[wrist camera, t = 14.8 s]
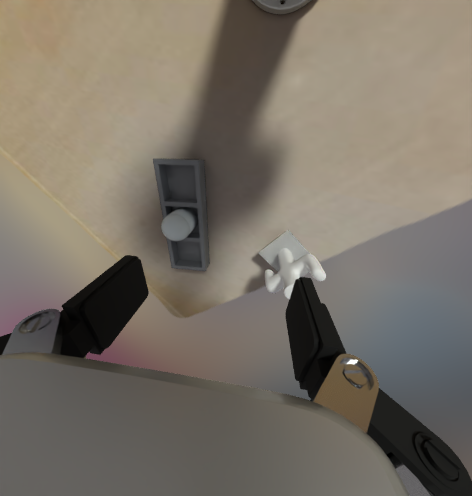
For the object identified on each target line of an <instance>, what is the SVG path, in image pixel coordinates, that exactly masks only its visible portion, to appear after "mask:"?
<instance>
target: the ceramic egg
mask: <svg viewBox="0 0 472 496" xmlns="http://www.w3.org/2000/svg"><path fill="white" fill-rule="evenodd" d="M197 224H198V216H197V214H196V212H195V211H194V210H193V209H191V208H189V207H180V208H178V209H176V210H175V211H173V212H172V213H170V214H169V215H167V216H166V217H165V218H164V219H163V221H162V224H161V229H162V232H163V234H164V235H165V237H167V238H168V239H170V240H172V241H181V240H183V239H185V238H186V237H187V236H188V235H189V234H190V233H191V232H192V231H193V229H194V228H195V227H196V226H197Z"/></svg>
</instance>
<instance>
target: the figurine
mask: <svg viewBox="0 0 472 496" xmlns="http://www.w3.org/2000/svg"><path fill="white" fill-rule="evenodd" d="M259 254H260V255H261V256H262V257H263V258H264V259H265V260H266V261H267V262H268V263H269V264H270V265H271V266H272V267H273V268H274V269H275V270H276V271H277V272H278V273H277V274H274V272H273V271H272V270H269V269H268V270H266V271H265V285H266V288H267V290H268V291H269V292H270V293H276V292H278V291H280V290H281V289H283V288H284V295H285V296H286V298H288V299H290V296H291V293H292V290H293V286H294V283H295V280H296V279H299V278H300V277H303V276H304V275H306V274H307V273H309V272H310V273H311V275H312V276H313V278H314V279H316V280H318V281H324V280H325V278H326V274H325V272H324V270H323V268H322V267H321V265H320V263H319V261H318V260H317V258H316V257H315V256H314V255H312V254H310V253H309V252H308V251H307V250H306V249H305V248H304V246H303V245H302V244H301V243H300V242H299V241H298V240H297V239H296V238H295V236H294V235H293V234H292V233H291V232H290V231H289V230H287V231H286V232H284V233H283V234H282V235H280V236H279V237H278V238H277V239H275V240H274V241H273V242H271V243H270V244H269V245H267V246H266V247H265V248H264V249H262V250H261V251H260V252H259Z"/></svg>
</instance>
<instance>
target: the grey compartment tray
mask: <svg viewBox="0 0 472 496" xmlns="http://www.w3.org/2000/svg"><path fill="white" fill-rule="evenodd" d="M153 163H154V168H155V174H156V180H157V186H158V191H159V197H160V203H161V209H162V215H163V219H164V218H165V217H166V216H167V215H169V214H170V213H172V212H173V211H175V210H176V209H178V208H180V207H189V208H191V209H193V210H194V211H195V212H196V214H197V216H198V224H197V226H196V227H195V228H194V229H193V231H192V232H191V233H190V234H189V235H188V236H187V237H186V238H185V239H183V240H181V241H172V240H170V239H168V238H167V237H166V238H167V243H168V249H169V255H170V261H171V267H172V268H177V269H188V270H199V271H206V270H207V268H208V265H209V263H210V262H209V243H208V224H207V204H206V185H205V166H204V160H191V159H153Z"/></svg>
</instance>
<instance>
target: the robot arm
mask: <svg viewBox="0 0 472 496" xmlns="http://www.w3.org/2000/svg"><path fill="white" fill-rule="evenodd" d="M252 1H253V2H254V3H255V4H256V5H257V6H258V7H260V8H261V9H263V10H264V11H267V12H270V13H273V14H287V13H291V12H294V11H296V10H298V9H300V8H302V7H303V6H305V5H306V4H307V3H308V2H310V1H311V0H252ZM281 2H284V4H283V5H282V4H281ZM147 296H148V288H147V284H146V280H145V276H144V272H143V268H142V264H141V260H140V259H139V258H138V257H137V256H130V255H126V256H124V257H123V258H122V259H121V260H119V261H118V262H117V263H115V264H114V265H113V266H112V267H110V268H109V269H108V270H107V271H105V272H104V273H103V274H102V275H100V276H99V277H98V278H96V279H95V280H94V281H93V282H91V283H90V284H89V285H87V286H86V287H85V288H84V289H82V290H81V291H80V292H79V293H77V294H76V295H75V296H74V297H72V298H71V299H70V300H68V301H67V302H66V303H64V304H63V305H62V307H63V309H64V310H62V311H61V312H60V311H59V310H57V309H46V310H42V311H39V312H36V313H34V314H32V315H30V316H28V317H26V318H25V319H23V320H22V321H21V322H19V323H18V324H17V325H16V327H15V328H14V330H13V332H12V333H10V334H7V335H4V336H1V337H0V496H472V481H471V479H470V476H469V474H468V472H467V470H466V468H465V467H464V465H463V464H462V462H461V461H460V459H459V458H458V457H457V455H456V454H455V453H454V452H453V451H452V449H450V447H449V446H448V445H447V444H445V443H444V442H443V441H442V440H441V439H440V438H439V437H438V436H436V435H435V434H434V433H433V432H431V431H430V430H429V429H428V428H427V427H426V426H424V425H423V424H422V423H421V422H420V421H418V420H417V419H416V418H415V417H413V416H412V415H411V414H410V413H408V412H407V411H406V410H405V409H404V408H403V407H401V406H400V405H399V404H398V403H396V402H395V401H394V400H393V399H392V398H390V397H389V396H388V395H387V394H386V393H384V392H383V391H382V390H381V389H380V388H379V383H378V380H377V377H376V375H375V374H374V372H373V370H372V369H371V368H370V367H369V366H368V365H367V364H366V363H365V362H364V361H362V360H361V359H359V358H358V357H356V356H354V355H351V354H346V351H345V349H344V347H343V345H342V342H341V340H340V337H339V335H338V333H337V330H336V328H335V326H334V323H333V321H332V318H331V316H330V314H329V311H328V309H327V307H326V305H325V304H323V303H321V302H320V300H319V297H318V295H317V292H316V290H315V287H314V285H313V282H312V280H311V278H305V277H300V278H299V279H296V280H295V283H294V286H293V290H292V293H291V296H290V299H289V303H288V306H287V309H286V322H287V329H288V335H289V342H290V348H291V355H292V361H293V368H294V374H295V379H296V380H297V381H299V383H300V388H301V389H305V390H307V391H308V395H309V397H310V398H311V400H310V401H309V400H306V399H303V398H299V397H295V396H291V395H287V394H283V393H278V392H273V391H268V390H263V389H258V388H253V387H247V386H242V385H235V384H230V383H225V382H219V381H214V380H208V379H202V378H197V377H191V376H185V375H180V374H174V373H168V372H162V371H156V370H151V369H145V368H139V367H133V366H127V365H121V364H115V363H109V362H103V361H97V360H91V359H86V355H87V353H88V352H89V351H90V353H94V354H101V353H102V352H103V351H104V349H106V348H108V347H109V346H110V345H111V344H112V342H113V341H114V340H115V338H116V337H117V336H118V335H119V333H120V332H121V331H122V329H123V328H124V327H125V325H126V324H127V323H128V321H129V320H130V319H131V318H132V316H133V315H134V314H135V312H136V311H137V310H138V308H139V307H140V306H141V305H142V303H143V302H144V300H145V299H146V298H147Z"/></svg>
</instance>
